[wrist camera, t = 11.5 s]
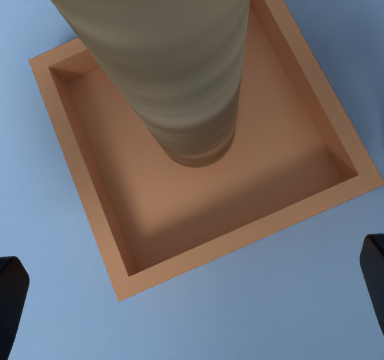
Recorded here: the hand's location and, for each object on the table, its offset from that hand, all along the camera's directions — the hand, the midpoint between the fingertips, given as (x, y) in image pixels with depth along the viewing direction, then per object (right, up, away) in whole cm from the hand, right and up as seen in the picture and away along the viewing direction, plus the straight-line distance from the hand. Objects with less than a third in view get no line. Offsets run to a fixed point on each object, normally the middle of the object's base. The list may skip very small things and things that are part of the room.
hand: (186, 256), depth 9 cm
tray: (0, +5, +9) cm, 10 cm away
